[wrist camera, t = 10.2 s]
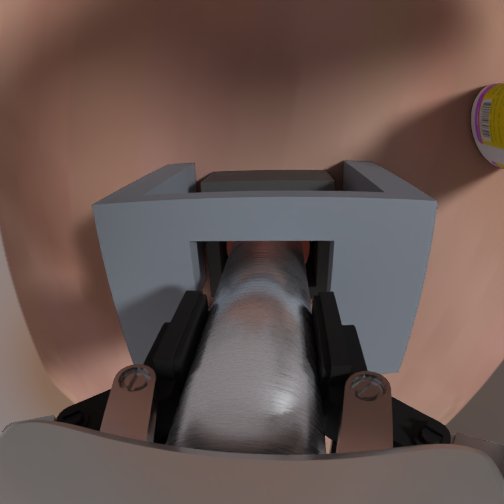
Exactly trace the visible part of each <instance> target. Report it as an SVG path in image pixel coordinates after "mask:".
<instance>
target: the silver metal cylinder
mask: <svg viewBox="0 0 504 504" xmlns="http://www.w3.org/2000/svg"><path fill="white" fill-rule="evenodd" d="M165 445H171V446H177V447H185V448H192V449H200V450H209V451H219V452H231V453H247V454H273V455H307V454H326V446H325V433H324V420H323V409H322V398H321V391H320V384H319V374H318V364H317V355H316V346H315V337H314V329H313V321H312V309H311V302H310V294H309V287H308V280H307V273H306V266H305V259H304V253H303V246H302V241H234V242H233V245H232V248H231V251H230V253H229V256H228V259H227V262H226V265H225V268H224V270H223V273H222V276H221V279H220V282H219V285H218V288H217V291H216V293H215V296H214V299H213V302H212V305H211V308H210V311H209V314H208V317H207V320H206V323H205V326H204V329H203V331H202V334H201V337H200V340H199V343H198V346H197V349H196V352H195V355H194V358H193V361H192V364H191V367H190V370H189V373H188V376H187V379H186V382H185V385H184V388H183V391H182V395H181V398H180V401H179V404H178V407H177V410H176V413H175V416H174V419H173V422H172V425H171V429H170V432H169V435H168V438H167V441H166V444H165Z"/></svg>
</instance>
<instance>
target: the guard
mask: <svg viewBox="0 0 504 504" xmlns="http://www.w3.org/2000/svg"><path fill="white" fill-rule="evenodd" d="M437 202H438V201H437V200H435V199H434V198H432V197H431V196H429V195H427V194H426V193H424V192H423V191H421V190H419V189H418V188H416V187H415V186H413V185H411V184H410V183H408V182H406V181H405V180H403V179H401V178H400V177H398V176H396V175H395V174H393V173H391V172H389V171H388V170H386V169H384V168H382V167H381V166H379V165H377V164H375V163H373V162H366V161H344V170H343V191H334V180H333V178H332V177H331V176H330V175H329V173H328V172H327V171H326V170H253V171H222V172H212V173H211V174H210V175H208V176H207V177H206V178H205V179H204V180H203V181H202V182H201V192H200V193H197V185H196V173H195V163H184V164H171V165H166V166H164V167H162V168H160V169H158V170H156V171H154V172H152V173H150V174H148V175H146V176H144V177H142V178H140V179H138V180H136V181H134V182H132V183H131V184H129V185H127V186H125V187H123V188H121V189H119V190H118V191H116V192H114V193H112V194H110V195H109V196H107V197H105V198H103V199H101V200H100V201H98V202H96V203H94V204H93V205H92V208H93V214H94V219H95V224H96V229H97V234H98V239H99V244H100V248H101V253H102V257H103V262H104V266H105V270H106V274H107V278H108V282H109V286H110V289H111V293H112V297H113V300H114V304H115V307H116V311H117V314H118V318H119V321H120V324H121V328H122V331H123V334H124V337H125V340H126V343H127V346H128V349H129V352H130V355H131V358H132V361H133V364H142V365H143V363H144V361H145V359H146V357H147V355H148V353H149V351H150V349H151V347H152V345H153V343H154V341H155V339H156V337H157V335H158V333H159V331H160V329H161V327H162V325H163V324H164V323H165V322H171V320H172V318H173V316H174V314H175V312H176V310H177V308H178V306H179V304H180V302H181V300H182V298H183V296H184V294H185V292H186V291H187V290H191V291H201V292H202V289H203V286H204V284H205V282H206V275H205V266H204V257H203V248H202V241H206V248H207V258H208V267H209V277H210V286H211V294H212V297H214V296H215V293H216V291H217V288H218V285H219V282H220V279H221V276H222V273H223V270H224V268H225V265H226V262H227V259H228V254H227V241H313V245H312V263H306V264H305V266H306V273H307V280H308V287H309V294H310V298H313V295H318V293H319V292H330V291H333V292H334V295H335V299H336V303H337V307H338V311H339V315H340V319H341V323H342V325H354V326H355V328H356V331H357V334H358V338H359V341H360V345H361V348H362V352H363V355H364V359H365V363H366V366H367V370H368V371H371V372H376V373H378V374H386V373H397V372H399V369H400V366H401V363H402V360H403V357H404V354H405V351H406V348H407V344H408V341H409V338H410V334H411V331H412V327H413V324H414V320H415V316H416V312H417V309H418V305H419V301H420V296H421V292H422V288H423V283H424V279H425V274H426V269H427V264H428V259H429V254H430V249H431V243H432V237H433V231H434V224H435V217H436V210H437ZM202 294H203V292H202Z"/></svg>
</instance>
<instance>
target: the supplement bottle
mask: <svg viewBox="0 0 504 504" xmlns="http://www.w3.org/2000/svg"><path fill="white" fill-rule="evenodd" d="M471 127H472V133H473V137H474V140H475V142H476V145H477V147H478V149H479V150H480V152H481V153H482V155H483V156H484V157H485V158H486V159H487V160H488V161H489V162H490V163H492V164H493V165H495V166H497V167H500V168H502V169H504V83H499V84H491V85H488V86H486V87H485V88H483V89H482V90H481V91H480V92H479V94H478V95H477V97H476V99H475V101H474V104H473V107H472V112H471Z"/></svg>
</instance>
